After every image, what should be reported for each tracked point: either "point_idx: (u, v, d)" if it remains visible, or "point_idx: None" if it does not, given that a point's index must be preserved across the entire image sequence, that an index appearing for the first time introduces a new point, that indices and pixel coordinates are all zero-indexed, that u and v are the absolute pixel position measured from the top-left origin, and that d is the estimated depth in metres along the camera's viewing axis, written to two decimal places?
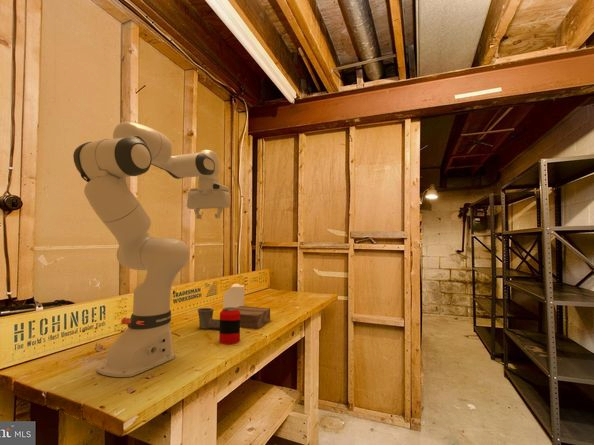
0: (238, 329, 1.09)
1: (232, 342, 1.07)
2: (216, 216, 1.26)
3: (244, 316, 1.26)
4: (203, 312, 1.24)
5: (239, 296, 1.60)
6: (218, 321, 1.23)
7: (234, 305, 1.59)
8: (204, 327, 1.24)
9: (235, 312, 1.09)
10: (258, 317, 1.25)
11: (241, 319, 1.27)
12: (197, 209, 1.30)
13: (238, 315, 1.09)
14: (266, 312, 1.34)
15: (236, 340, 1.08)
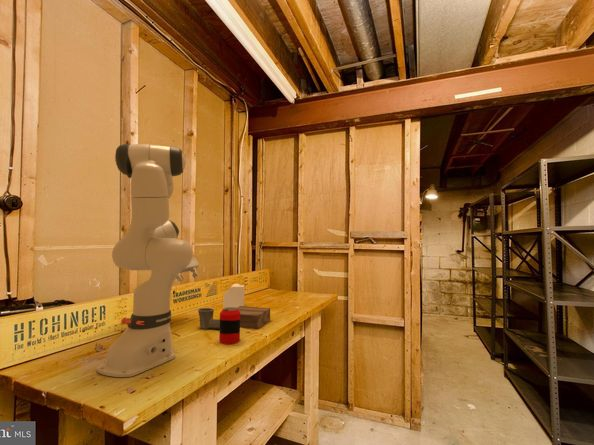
0: (238, 329, 1.09)
1: (232, 342, 1.07)
2: (196, 274, 1.35)
3: (244, 316, 1.26)
4: (203, 312, 1.23)
5: (239, 296, 1.60)
6: (218, 321, 1.23)
7: (234, 305, 1.59)
8: (204, 327, 1.24)
9: (235, 312, 1.09)
10: (258, 317, 1.25)
11: (241, 319, 1.27)
12: None
13: (238, 315, 1.09)
14: (266, 312, 1.34)
15: (236, 340, 1.08)
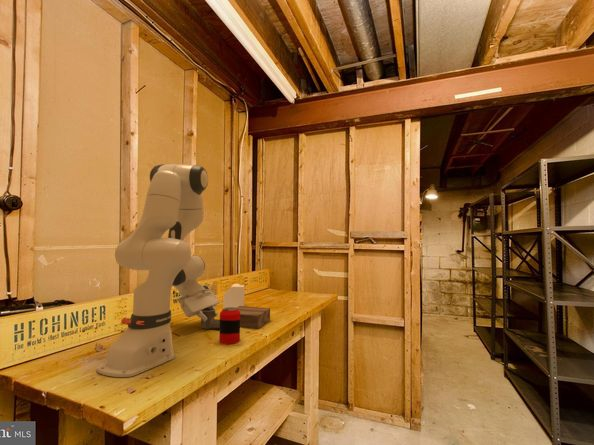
0: (238, 329, 1.09)
1: (232, 342, 1.07)
2: (216, 313, 1.29)
3: (244, 316, 1.26)
4: (205, 312, 1.23)
5: (239, 296, 1.60)
6: None
7: (234, 305, 1.59)
8: (205, 327, 1.23)
9: (235, 312, 1.09)
10: (258, 317, 1.25)
11: (241, 319, 1.27)
12: None
13: (238, 315, 1.09)
14: (266, 312, 1.34)
15: (236, 340, 1.08)
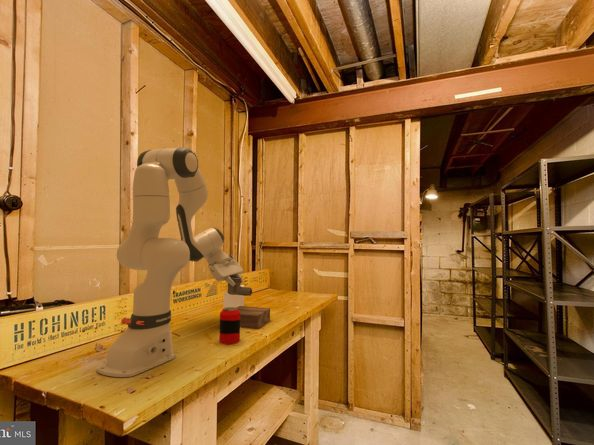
0: (238, 329, 1.09)
1: (232, 342, 1.07)
2: (241, 280, 1.35)
3: (244, 316, 1.26)
4: (233, 279, 1.30)
5: (239, 296, 1.60)
6: (246, 288, 1.30)
7: (234, 305, 1.59)
8: (232, 293, 1.30)
9: (235, 312, 1.09)
10: (258, 317, 1.25)
11: (241, 319, 1.27)
12: None
13: (238, 315, 1.09)
14: (266, 312, 1.34)
15: (236, 340, 1.08)
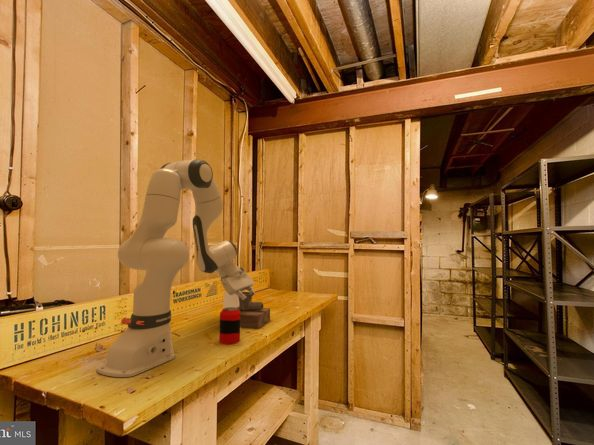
0: (238, 329, 1.09)
1: (232, 342, 1.07)
2: (254, 292, 1.38)
3: (244, 316, 1.26)
4: None
5: None
6: (258, 303, 1.32)
7: (234, 305, 1.59)
8: (244, 309, 1.32)
9: (235, 312, 1.09)
10: (259, 317, 1.26)
11: (241, 319, 1.27)
12: None
13: (238, 315, 1.09)
14: (266, 312, 1.34)
15: (236, 340, 1.08)
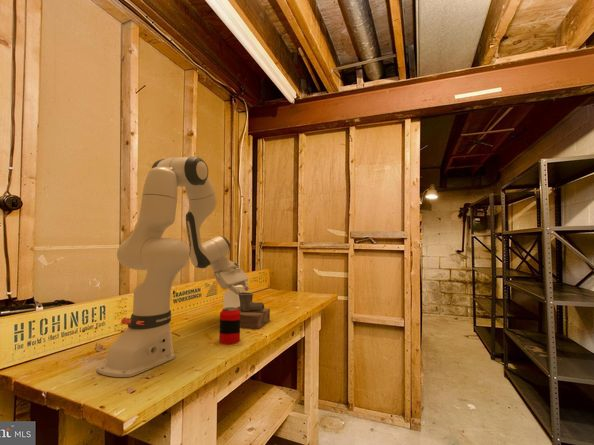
0: (238, 329, 1.09)
1: (232, 342, 1.07)
2: (248, 287, 1.39)
3: (244, 317, 1.26)
4: (244, 295, 1.32)
5: None
6: (258, 304, 1.31)
7: (234, 305, 1.59)
8: (245, 309, 1.32)
9: (235, 312, 1.09)
10: (258, 317, 1.25)
11: (241, 320, 1.26)
12: None
13: (238, 315, 1.09)
14: (266, 312, 1.33)
15: (236, 340, 1.08)
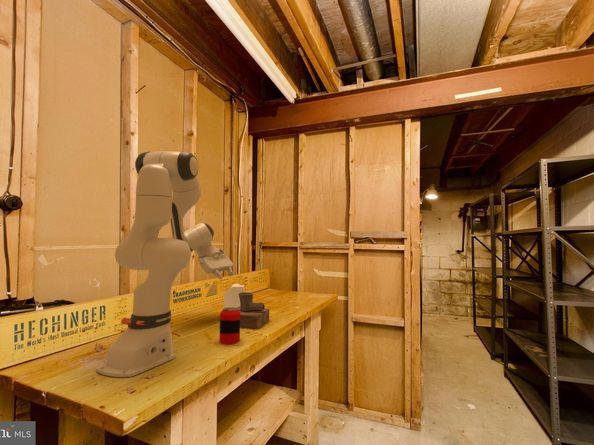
0: (238, 329, 1.09)
1: (232, 342, 1.07)
2: (232, 273, 1.42)
3: (243, 317, 1.26)
4: (244, 295, 1.31)
5: None
6: (259, 304, 1.31)
7: (234, 305, 1.59)
8: (245, 309, 1.31)
9: (235, 312, 1.09)
10: (258, 317, 1.25)
11: (240, 320, 1.26)
12: None
13: (238, 315, 1.09)
14: (265, 312, 1.33)
15: (236, 340, 1.08)
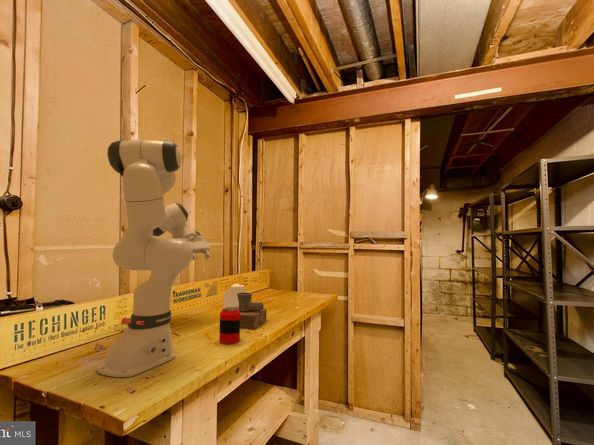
0: (238, 329, 1.09)
1: (232, 342, 1.07)
2: (209, 255, 1.37)
3: (240, 317, 1.26)
4: (243, 295, 1.31)
5: None
6: (258, 304, 1.31)
7: (234, 305, 1.59)
8: (244, 309, 1.31)
9: (235, 312, 1.09)
10: (255, 317, 1.25)
11: None
12: None
13: (238, 315, 1.09)
14: (262, 312, 1.33)
15: (236, 340, 1.08)
